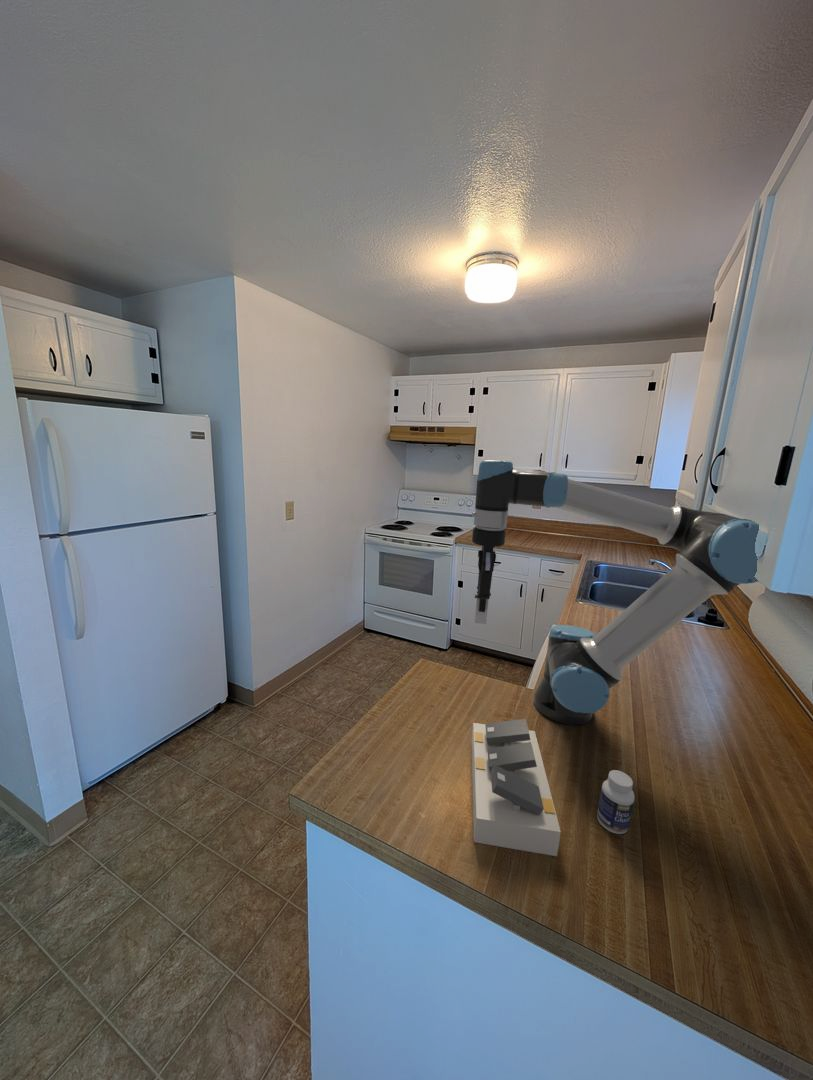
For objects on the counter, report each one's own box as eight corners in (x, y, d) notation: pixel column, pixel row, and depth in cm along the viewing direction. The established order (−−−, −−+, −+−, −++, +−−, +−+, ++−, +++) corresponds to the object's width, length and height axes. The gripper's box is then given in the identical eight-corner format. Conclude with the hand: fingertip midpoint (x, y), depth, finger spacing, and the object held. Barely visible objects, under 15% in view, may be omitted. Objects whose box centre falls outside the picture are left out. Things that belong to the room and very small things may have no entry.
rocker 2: (532, 748, 83) (530, 741, 83) (536, 766, 78) (534, 758, 78) (489, 755, 85) (487, 748, 84) (490, 773, 80) (488, 766, 80)
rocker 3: (534, 792, 76) (539, 785, 76) (539, 815, 71) (544, 808, 71) (490, 770, 76) (494, 763, 76) (492, 792, 71) (496, 784, 71)
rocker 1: (526, 725, 91) (525, 718, 91) (530, 740, 86) (529, 732, 86) (486, 729, 92) (485, 722, 92) (487, 744, 88) (486, 737, 87)
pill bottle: (614, 839, 73) (623, 793, 71) (590, 815, 78) (597, 771, 76) (635, 829, 75) (644, 784, 73) (610, 806, 80) (618, 763, 78)
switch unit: (532, 750, 95) (535, 726, 93) (556, 856, 69) (561, 826, 68) (471, 741, 96) (473, 718, 95) (473, 842, 71) (477, 812, 70)
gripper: (472, 522, 102) (464, 611, 106) (473, 531, 89) (464, 631, 94) (503, 524, 101) (493, 614, 106) (508, 533, 88) (498, 635, 93)
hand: (480, 622), depth 100 cm, fingers closed
